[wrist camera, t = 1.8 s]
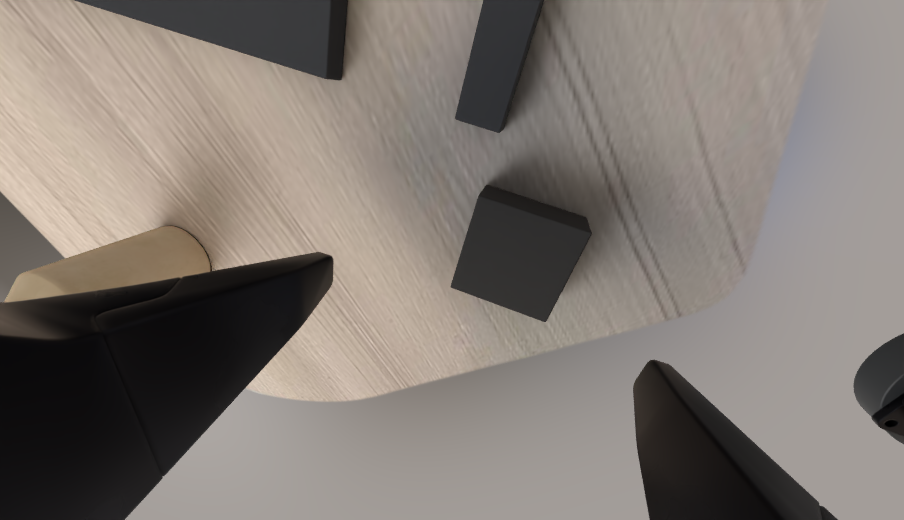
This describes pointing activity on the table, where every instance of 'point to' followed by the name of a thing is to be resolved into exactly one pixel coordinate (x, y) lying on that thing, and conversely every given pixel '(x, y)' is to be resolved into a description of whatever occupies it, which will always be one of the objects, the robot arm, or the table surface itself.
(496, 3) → the mat
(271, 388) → the table surface
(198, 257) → the candle
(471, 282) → the black block
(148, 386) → the robot arm
